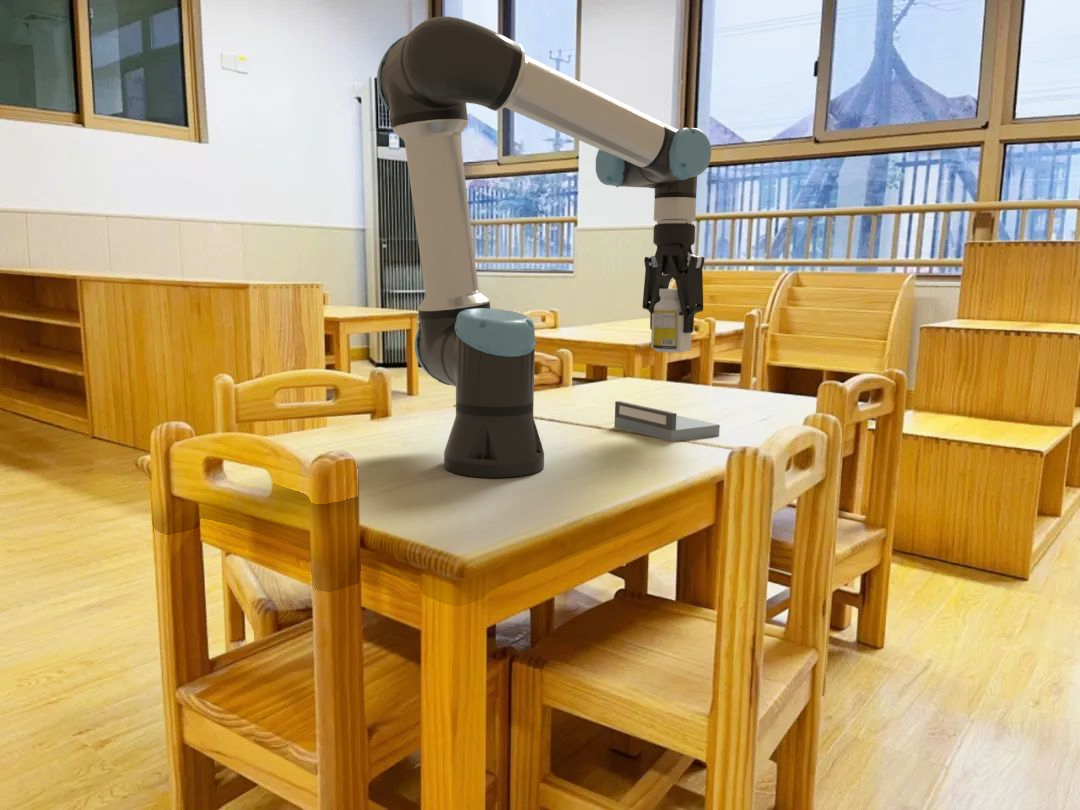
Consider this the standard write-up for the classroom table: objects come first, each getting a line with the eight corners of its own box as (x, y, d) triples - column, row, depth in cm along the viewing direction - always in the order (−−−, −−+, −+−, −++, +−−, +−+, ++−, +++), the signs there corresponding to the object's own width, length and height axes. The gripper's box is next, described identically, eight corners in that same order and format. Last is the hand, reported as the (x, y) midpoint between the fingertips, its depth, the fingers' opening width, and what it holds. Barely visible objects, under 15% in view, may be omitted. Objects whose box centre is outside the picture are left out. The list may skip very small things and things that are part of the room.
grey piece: (670, 441, 144) (671, 413, 143) (613, 426, 157) (614, 401, 156) (719, 435, 151) (720, 408, 150) (660, 421, 164) (662, 397, 163)
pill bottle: (685, 349, 155) (687, 288, 153) (690, 353, 148) (692, 289, 147) (651, 349, 155) (652, 288, 153) (655, 353, 149) (656, 289, 147)
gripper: (728, 221, 142) (723, 352, 146) (654, 226, 158) (651, 344, 162) (697, 219, 138) (692, 354, 142) (624, 224, 154) (622, 345, 158)
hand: (670, 348), depth 152 cm, fingers closed on pill bottle, 6 cm apart
